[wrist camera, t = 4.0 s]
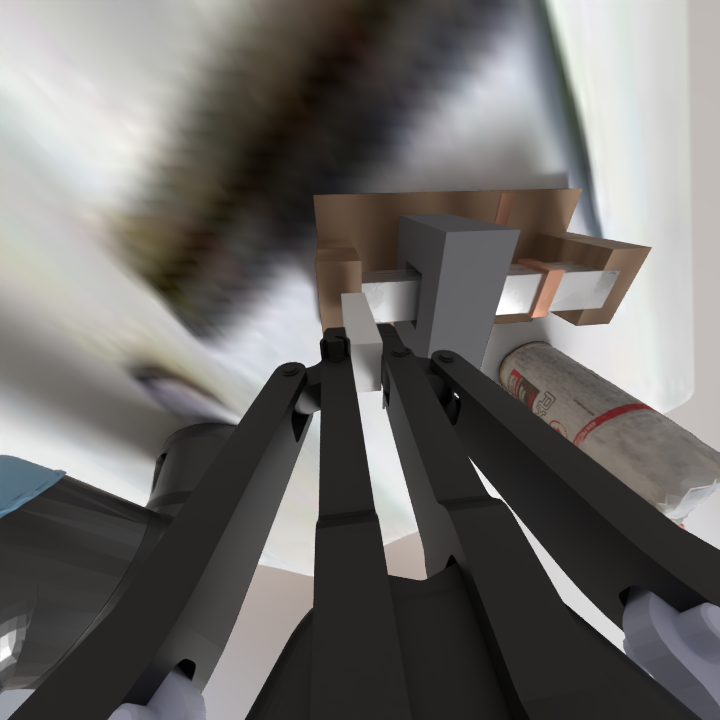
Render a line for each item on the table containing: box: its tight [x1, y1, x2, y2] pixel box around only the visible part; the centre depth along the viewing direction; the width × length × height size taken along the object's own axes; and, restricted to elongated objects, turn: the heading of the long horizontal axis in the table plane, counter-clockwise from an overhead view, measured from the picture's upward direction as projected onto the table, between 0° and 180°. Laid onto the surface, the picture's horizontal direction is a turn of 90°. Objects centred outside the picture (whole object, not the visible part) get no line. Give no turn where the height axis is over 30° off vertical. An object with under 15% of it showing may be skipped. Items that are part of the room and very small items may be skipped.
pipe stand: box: [313, 189, 652, 332], centre depth 23 cm, size 24×13×10 cm, turn 91°
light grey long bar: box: [342, 259, 621, 325], centre depth 21 cm, size 21×4×4 cm, turn 91°
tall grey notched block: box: [393, 214, 521, 370], centre depth 20 cm, size 4×10×10 cm, turn 1°
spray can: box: [499, 342, 720, 525], centre depth 28 cm, size 8×8×20 cm
